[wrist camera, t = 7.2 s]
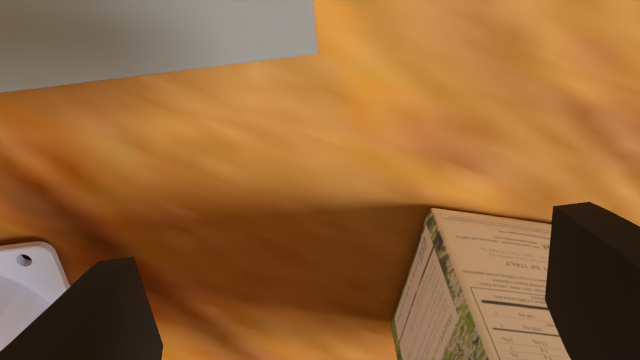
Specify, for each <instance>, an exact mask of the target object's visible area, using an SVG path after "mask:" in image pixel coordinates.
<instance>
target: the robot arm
mask: <svg viewBox="0 0 640 360" xmlns="http://www.w3.org/2000/svg"><path fill="white" fill-rule="evenodd" d="M21 254H24V255H27V256H29V257H30V258H31V259H32V260H27V259H25V258H23V256H22V255H21ZM545 302H546V305H547V307H548V309H549V312H550V314H551V317H552V319H553V322H554V324H555V327H556V329H557V331H558V334H559V336H560V338H561V340H562V343H563V345H564V347H565V349H566V352H567V353H568V355H569V357H570V359H571V360H640V227H639V226H637V225H635V224H634V223H632V222H630V221H628V220H626V219H624V218H622V217H620V216H618V215H616V214H614V213H612V212H610V211H608V210H606V209H604V208H602V207H600V206H598V205H595V204H593V203H591V202H585V203H577V204H568V205H560V206H553V215H552V226H551V237H550V248H549V258H548V269H547V280H546V291H545ZM162 350H163V344H162V341H161V338H160V335H159V332H158V329H157V326H156V323H155V320H154V316H153V313H152V310H151V307H150V304H149V301H148V298H147V295H146V292H145V289H144V286H143V283H142V280H141V277H140V274H139V271H138V268H137V265H136V262H135V259H134V257H132V258H123V259H115V260H107V261H99V262H98V263H96V264H95V265H94V266H93V267H92V268H90V269H89V270H88V271H87V272H86V273H85V274H83V275H82V276H81V277H80V278H79V279H78V280H77V281H76V282H75V283H74V284H73V285H71V286H70V285H69V282H68V280H67V277H66V275H65V272H64V270H63V267H62V265H61V262H60V260H59V258H58V255H57V253H56V251H55V249H54V248H53V247H52V246H51V245H50V244H48V243H45V242H41V241H36V242H27V243H19V244H11V245H2V246H0V360H161V358H162Z"/></svg>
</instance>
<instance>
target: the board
mask: <svg viewBox="0 0 640 360" xmlns="http://www.w3.org/2000/svg"><path fill="white" fill-rule="evenodd" d="M312 54H318V46H317V37H316V29H315V20H314V11H313V3H312V0H0V93H3V92H12V91H20V90H28V89H36V88H44V87H52V86H60V85H68V84H77V83H85V82H93V81H101V80H109V79H117V78H125V77H133V76H142V75H150V74H158V73H166V72H174V71H182V70H190V69H198V68H207V67H215V66H223V65H231V64H239V63H247V62H255V61H263V60H272V59H280V58H288V57H296V56H304V55H312Z"/></svg>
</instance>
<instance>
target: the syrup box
mask: <svg viewBox="0 0 640 360" xmlns="http://www.w3.org/2000/svg"><path fill="white" fill-rule="evenodd" d="M551 226H552V224H546V223H539V222H532V221H525V220H518V219H512V218H505V217H496V216H490V215H483V214H475V213H467V212H460V211H452V210H444V209H438V208H431V209H429V211H428V214H427V216H426V219H425V222H424V226H423V228H422V231H421V235H420V238H419V241H418V244H417V247H416V250H415V254H414V256H413V259H412V262H411V265H410V269H409V272H408V275H407V278H406V281H405V284H404V287H403V290H402V293H401V296H400V299H399V302H398V305H397V308H396V310H395V313H394V317H393V320H392V323H391V328H392V334H393V339H394V344H395V349H396V354H397V359H398V360H571V359H570V357H569V355H568V353H567V352H566V349H565V347H564V345H563V343H562V340H561V338H560V336H559V334H558V331H557V329H556V327H555V324H554V322H553V319H552V317H551V314H550V312H549V309H548V307H547V305H546V302H545V291H546V280H547V269H548V258H549V248H550V237H551Z"/></svg>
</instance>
